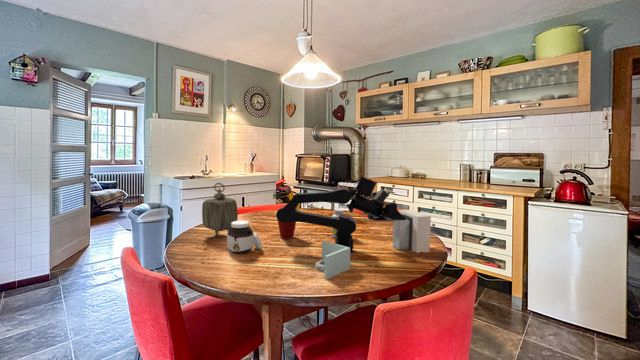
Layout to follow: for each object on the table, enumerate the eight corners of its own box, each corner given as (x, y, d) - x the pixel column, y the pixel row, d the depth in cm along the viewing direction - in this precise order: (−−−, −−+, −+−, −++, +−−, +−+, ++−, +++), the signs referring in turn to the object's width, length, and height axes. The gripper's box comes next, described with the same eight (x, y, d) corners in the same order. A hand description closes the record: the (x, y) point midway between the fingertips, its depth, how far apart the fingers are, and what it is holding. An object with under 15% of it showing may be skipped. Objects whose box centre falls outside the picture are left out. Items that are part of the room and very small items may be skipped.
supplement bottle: (340, 239, 136) (341, 211, 135) (328, 236, 140) (329, 209, 139) (348, 236, 141) (348, 209, 140) (336, 233, 145) (337, 207, 144)
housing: (416, 253, 118) (417, 216, 117) (397, 242, 131) (398, 210, 130) (429, 251, 119) (430, 216, 118) (409, 241, 133) (410, 209, 132)
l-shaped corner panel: (323, 260, 109) (323, 240, 109) (349, 269, 101) (350, 247, 101) (300, 269, 100) (300, 248, 100) (326, 280, 92) (327, 256, 92)
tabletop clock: (237, 236, 138) (237, 183, 136) (222, 241, 131) (221, 184, 128) (217, 232, 146) (216, 181, 144) (201, 236, 138) (199, 182, 136)
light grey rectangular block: (399, 250, 121) (400, 220, 120) (392, 246, 126) (393, 218, 124) (420, 248, 123) (421, 219, 122) (413, 244, 128) (414, 217, 127)
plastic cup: (270, 239, 134) (270, 213, 133) (280, 233, 145) (280, 209, 143) (293, 241, 131) (293, 215, 130) (301, 235, 141) (302, 210, 140)
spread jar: (224, 252, 117) (223, 222, 116) (244, 244, 127) (243, 217, 126) (247, 257, 111) (247, 226, 110) (266, 248, 121) (266, 220, 120)
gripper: (382, 183, 111) (417, 198, 114) (362, 189, 129) (393, 202, 132) (373, 211, 109) (410, 226, 112) (354, 213, 126) (386, 226, 129)
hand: (399, 219), depth 121 cm, fingers open, 9 cm apart
